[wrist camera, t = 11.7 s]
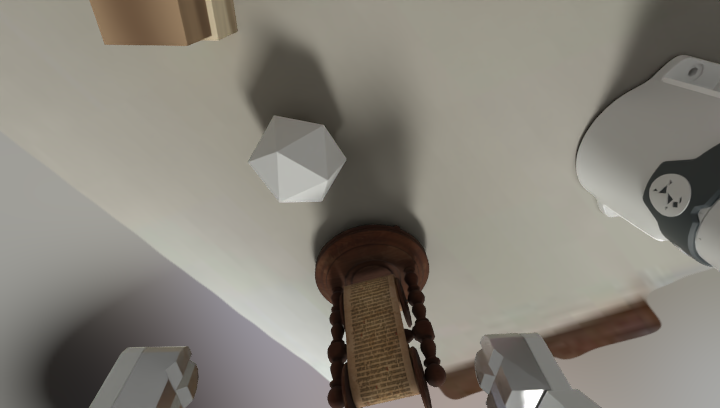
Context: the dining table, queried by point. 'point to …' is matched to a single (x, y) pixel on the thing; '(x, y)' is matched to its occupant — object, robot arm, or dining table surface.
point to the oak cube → (221, 18)
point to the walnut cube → (152, 21)
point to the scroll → (377, 317)
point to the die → (297, 160)
